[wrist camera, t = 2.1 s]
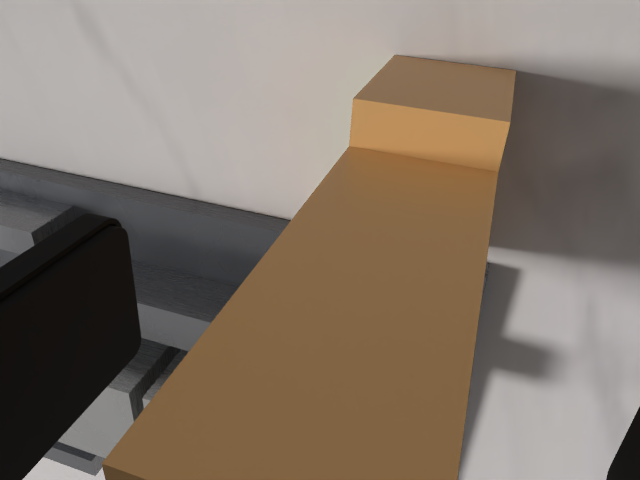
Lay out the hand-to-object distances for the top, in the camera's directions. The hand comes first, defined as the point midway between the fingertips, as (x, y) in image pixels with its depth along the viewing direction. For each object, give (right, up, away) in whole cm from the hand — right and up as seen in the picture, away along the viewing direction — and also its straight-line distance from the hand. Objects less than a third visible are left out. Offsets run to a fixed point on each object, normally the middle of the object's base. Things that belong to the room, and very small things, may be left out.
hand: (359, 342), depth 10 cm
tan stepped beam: (+2, +4, +5) cm, 7 cm away
